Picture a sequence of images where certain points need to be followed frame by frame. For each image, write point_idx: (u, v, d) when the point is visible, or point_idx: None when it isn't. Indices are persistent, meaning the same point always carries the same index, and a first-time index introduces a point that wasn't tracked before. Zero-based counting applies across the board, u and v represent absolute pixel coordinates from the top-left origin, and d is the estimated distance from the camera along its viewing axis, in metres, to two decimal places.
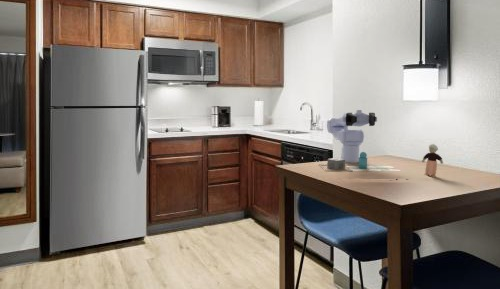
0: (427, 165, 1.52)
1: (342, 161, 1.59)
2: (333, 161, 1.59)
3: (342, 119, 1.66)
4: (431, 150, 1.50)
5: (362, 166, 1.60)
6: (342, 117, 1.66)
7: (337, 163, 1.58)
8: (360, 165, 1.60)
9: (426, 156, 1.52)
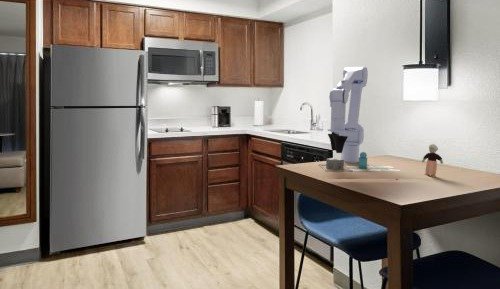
0: (427, 165, 1.52)
1: (341, 161, 1.60)
2: (332, 161, 1.59)
3: None
4: (431, 150, 1.50)
5: (362, 166, 1.60)
6: None
7: (335, 163, 1.58)
8: (360, 165, 1.60)
9: (426, 156, 1.52)
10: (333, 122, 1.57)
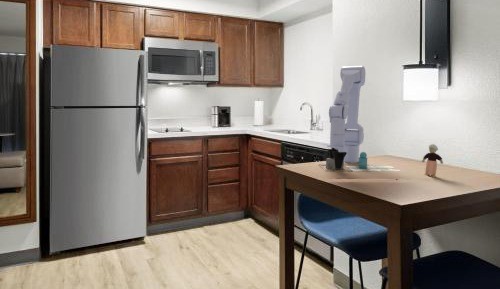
0: (427, 165, 1.52)
1: None
2: (332, 161, 1.59)
3: None
4: (431, 150, 1.50)
5: (362, 166, 1.60)
6: None
7: None
8: (360, 165, 1.60)
9: (426, 156, 1.52)
10: (333, 138, 1.58)
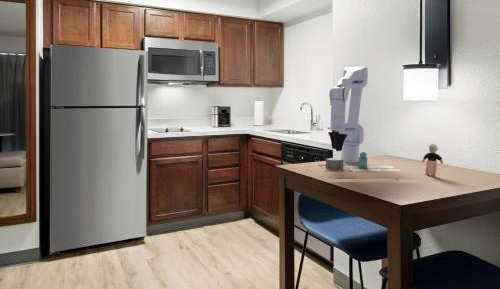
0: (427, 165, 1.52)
1: (340, 161, 1.59)
2: (331, 161, 1.59)
3: None
4: (431, 150, 1.50)
5: (362, 166, 1.60)
6: None
7: (335, 163, 1.58)
8: (360, 165, 1.60)
9: (426, 156, 1.52)
10: (333, 120, 1.57)
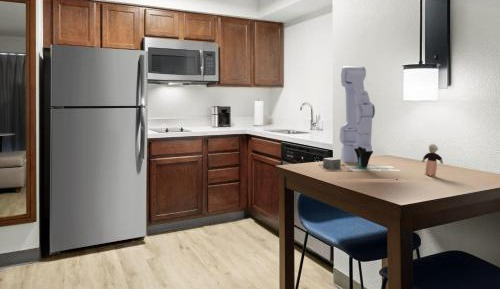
0: (427, 165, 1.52)
1: (337, 160, 1.61)
2: (328, 160, 1.60)
3: None
4: (431, 150, 1.50)
5: None
6: None
7: (332, 162, 1.59)
8: (360, 165, 1.60)
9: (426, 156, 1.52)
10: (360, 137, 1.58)
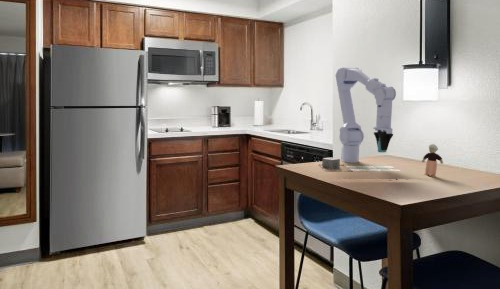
0: (427, 165, 1.52)
1: (337, 160, 1.61)
2: (328, 160, 1.60)
3: None
4: (431, 150, 1.50)
5: None
6: None
7: (331, 162, 1.59)
8: (380, 149, 1.59)
9: (426, 156, 1.52)
10: (380, 120, 1.57)
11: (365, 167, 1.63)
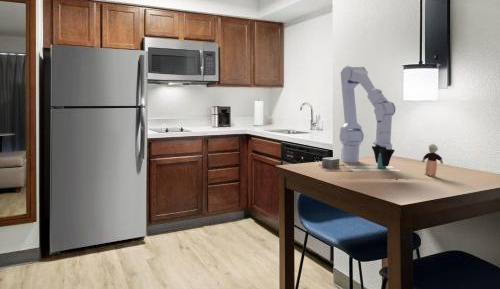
0: (427, 165, 1.52)
1: (336, 160, 1.61)
2: (327, 160, 1.61)
3: None
4: (431, 150, 1.50)
5: (381, 166, 1.60)
6: None
7: (331, 162, 1.60)
8: (379, 165, 1.60)
9: (426, 156, 1.52)
10: (379, 135, 1.58)
11: (365, 167, 1.63)
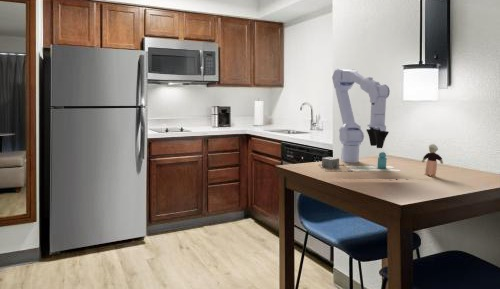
0: (427, 165, 1.52)
1: (336, 160, 1.62)
2: (327, 160, 1.61)
3: None
4: (431, 150, 1.50)
5: (381, 166, 1.60)
6: None
7: (330, 162, 1.60)
8: (379, 165, 1.60)
9: (426, 156, 1.52)
10: (374, 117, 1.59)
11: (365, 167, 1.63)
